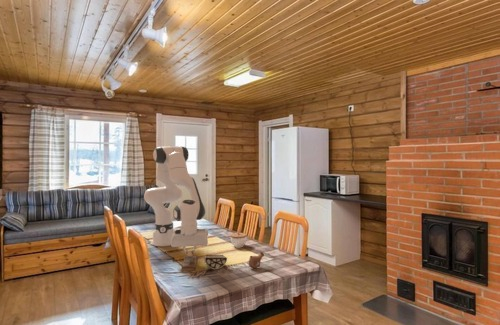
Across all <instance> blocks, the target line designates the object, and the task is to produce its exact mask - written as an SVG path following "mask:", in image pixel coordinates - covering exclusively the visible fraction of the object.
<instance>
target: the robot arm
mask: <svg viewBox="0 0 500 325" xmlns="http://www.w3.org/2000/svg"><path fill="white" fill-rule="evenodd" d="M189 155H190V154H189V150H188V148H187V147H186V146H178V145H177V146H176V145H169V146H168V145H167V146H158V147H155V148H154V149H153V153H152V156H153V157H152V158H153V161H155V163H157V165H156V166H157V168H156V181H157V182H159V183H160V184H162V185H164V186H163V187H162V186H161V187H152V188H148V189H146V190H145V192H144V194H143V199H144V202H146V203H147V204H148V205H150V207H151V208H152V209H153V212H154V216H155V217H154V218H155V224H154V231H153V232H152V241H150V246H151V245H152V246H155V247H169V246H171V247H172V248H180V247H181V248H182V250H183V251H184V255H187V252H188V250H189V249H187V248H186V247H193V249H191V250H192V254H193V255H195V254H196V253H195V251H196V250H197V247H201V246H207V245H208V244H209V243H208V242H209V241H208V239H209V238H208V236H209V230H208V229H206V228H198V221H200V220H202V219H203V218H204V216H205V214H206V208H205V205H204V203H203V202H202V199H201V196H200V193H199V189H198V186H197V183H196V181H195V179H194V178H193V177H192V176H191V175H190V173H189V172H188V167H187V161H188V159H189ZM179 186H180V187H183V188H185V189H187V191H189V193H190V197H191V199H185V200H182V198H183V190H182V189H181V188H180V187H179ZM181 200H182V201H181ZM179 201H181V203H180V204H178V205H175V207H174V208H173V210H171V209H170V208H167V207H165V206H164V205H165V204H170V203H176V202H179ZM172 211H173V212H172ZM173 218H174V220H176V221H177V222H181V223H180V226H178V227H175V228H174V223H173ZM186 249H187V250H186Z"/></svg>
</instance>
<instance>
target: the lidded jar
mask: <svg viewBox="0 0 500 325" xmlns="http://www.w3.org/2000/svg"><path fill="white" fill-rule="evenodd" d="M247 236H248V235H247V233H245V232H239V231H238V232H234V233H231V234H230V242H231V245H232V246H233V247H234V248H238V249H239V248H243V247H244V246H245V245H246V243H247Z"/></svg>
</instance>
